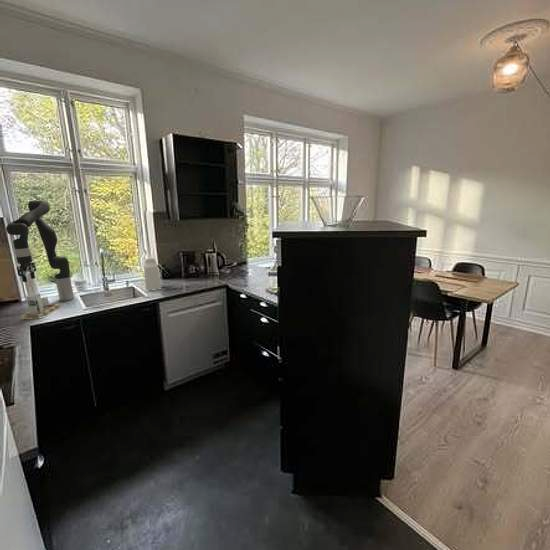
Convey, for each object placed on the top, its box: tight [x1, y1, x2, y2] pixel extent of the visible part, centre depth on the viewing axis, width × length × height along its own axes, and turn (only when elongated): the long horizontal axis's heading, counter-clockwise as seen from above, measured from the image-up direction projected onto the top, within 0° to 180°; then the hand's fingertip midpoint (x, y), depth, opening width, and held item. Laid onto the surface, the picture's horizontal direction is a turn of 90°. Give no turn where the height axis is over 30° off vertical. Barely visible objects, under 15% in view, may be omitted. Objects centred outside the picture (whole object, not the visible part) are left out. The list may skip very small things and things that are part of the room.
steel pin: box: [41, 296, 50, 309], centre depth 210 cm, size 4×4×9 cm
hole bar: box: [20, 303, 62, 321], centre depth 206 cm, size 23×12×2 cm, turn 9°
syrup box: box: [25, 293, 44, 315], centre depth 199 cm, size 6×6×14 cm
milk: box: [144, 257, 162, 291], centre depth 254 cm, size 12×12×26 cm
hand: (29, 280), depth 196 cm, fingers open, 8 cm apart
